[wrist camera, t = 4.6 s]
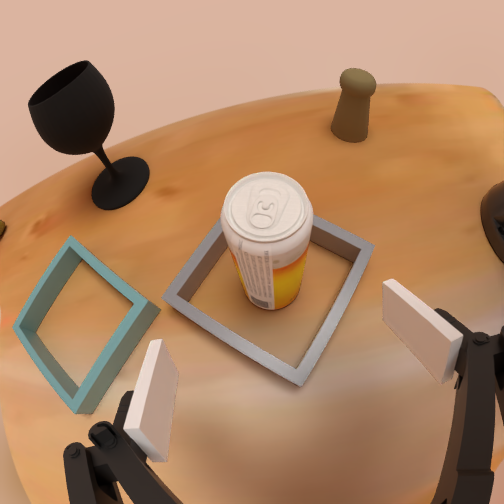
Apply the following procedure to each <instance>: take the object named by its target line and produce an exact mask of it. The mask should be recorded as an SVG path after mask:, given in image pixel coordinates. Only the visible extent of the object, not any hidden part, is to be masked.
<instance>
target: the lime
mask: <svg viewBox="0 0 504 504" xmlns="http://www.w3.org/2000/svg"><path fill="white" fill-rule="evenodd" d="M4 229H5V222H3V221H2V220H0V235H1V234H2V233H3V231H4Z"/></svg>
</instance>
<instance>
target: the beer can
mask: <svg viewBox="0 0 504 504" xmlns="http://www.w3.org/2000/svg"><path fill="white" fill-rule="evenodd" d="M312 224H313V209H312V205H311V203H310V201H309V199H308V197H307V195H306V193H305V191H304V189H303V188H302V187H301V186H300V184H299V183H297V182H296V181H295V180H294V179H292V178H290V177H288V176H286V175H283V174H280V173H276V172H259V173H254V174H251V175H248V176H246V177H244V178H242V179H241V180H239V181H238V182H237V183H235V184H234V185H233V186H232V187H231V189H230V190H229V192H228V193H227V195H226V198H225V201H224V204H223V207H222V210H221V226H222V229H223V232H224V235H225V238H226V241H227V243H228V246H229V249H230V252H231V255H232V258H233V260H234V263H235V266H236V269H237V272H238V274H239V277H240V280H241V283H242V286H243V288H244V291H245V293H246V295H247V297H248V298H249V300H250V301H251V302H252V303H254V304H255V305H256V306H258V307H261V308H264V309H270V310H273V309H279V308H283V307H285V306H287V305H288V304H290V303H291V302H292V301H293V300H294V299H295V298H296V296H297V294H298V292H299V290H300V285H301V281H302V276H303V271H304V266H305V261H306V256H307V251H308V246H309V241H310V235H311V230H312Z"/></svg>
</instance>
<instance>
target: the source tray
mask: <svg viewBox="0 0 504 504" xmlns="http://www.w3.org/2000/svg"><path fill="white" fill-rule="evenodd" d="M310 241H312V242H314V243H316V244H318V245H320V246H322V247H324V248H326V249H328V250H330V251H332V252H334V253H336V254H338V255H340V256H342V257H343V258H345V259H347V260H349V261H351V262H353V265H352V267H351V269H350V271H349V273H348V275H347V277H346V279H345V281H344V283H343V285H342V287H341V289H340V291H339V293H338V295H337V297H336V299H335V301H334V303H333V305H332V307H331V308H330V310H329V312H328V314H327V316H326V318H325V319H324V321H323V323H322V325H321V327H320V328H319V330H318V332H317V334H316V336H315V337H314V339H313V341H312V343H311V344H310V346H309V348H308V349H307V351H306V353H305V354H304V356H303V358H302V359H301V361H300V363H299V364H298V366H297V368H296V369H295V368H293V367H292V366H290V365H288V364H286V363H285V362H283V361H281V360H279V359H278V358H276V357H274V356H272V355H271V354H269V353H267V352H266V351H264V350H262V349H261V348H259V347H257V346H255V345H254V344H252V343H251V342H249V341H247V340H246V339H244V338H242V337H241V336H239V335H237V334H236V333H234V332H233V331H231V330H229V329H228V328H226V327H225V326H223V325H222V324H220V323H218V322H217V321H215V320H214V319H212V318H211V317H209V316H208V315H206V314H205V313H203V312H202V311H200V310H198V309H197V308H195V307H194V306H192V305H191V304H190V303H188V301H189V300H190V299H191V297H192V296H193V294H194V293H195V291H196V290H197V289H198V287H199V286H200V284H201V283H202V282H203V280H204V279H205V277H206V276H207V274H208V273H209V272H210V270H211V269H212V267H213V266H214V265H215V263H216V262H217V260H218V259H219V258H220V256H221V255H222V253H223V252H224V251H225V249H226V248H227V246H228V243H227V241H226V238H225V235H224V232H223V229H222V226H221V217H220V219H219V220H218V221H217V223H216V224H215V225H214V226H213V228H212V229H211V230H210V232H209V233H208V234H207V236H206V237H205V238H204V240H203V241H202V242H201V244H200V245H199V246H198V248H197V249H196V250H195V252H194V253H193V254H192V256H191V257H190V258H189V260H188V261H187V262H186V264H185V265H184V267H183V268H182V269H181V271H180V272H179V273H178V275H177V276H176V278H175V279H174V280H173V282H172V283H171V285H170V286H169V287H168V289H167V290H166V292H165V293H164V294H163V296H162V297H161V298H162V299H163V300H164V301H165V302H167V303H168V304H169V305H170V306H172V307H173V308H174V309H176V310H177V311H179V312H180V313H182V314H183V315H184V316H186V317H187V318H189V319H190V320H192V321H193V322H195V323H196V324H197V325H199V326H200V327H202V328H203V329H205V330H206V331H208V332H209V333H211V334H212V335H214V336H215V337H217V338H219V339H220V340H222V341H223V342H225V343H226V344H228V345H229V346H231V347H233V348H234V349H236V350H237V351H239V352H241V353H242V354H244V355H245V356H247V357H249V358H250V359H252V360H254V361H255V362H257V363H259V364H260V365H262V366H264V367H265V368H267V369H269V370H271V371H272V372H274V373H276V374H277V375H279V376H281V377H283V378H284V379H286V380H288V381H290V382H292V383H293V384H295V385H297V386H299V387H302V385H303V384H304V382H305V380H306V379H307V377H308V376H309V374H310V372H311V371H312V369H313V367H314V366H315V364H316V362H317V360H318V359H319V357H320V355H321V353H322V352H323V350H324V348H325V346H326V345H327V343H328V341H329V339H330V337H331V336H332V334H333V332H334V330H335V328H336V326H337V324H338V323H339V321H340V319H341V317H342V315H343V313H344V311H345V309H346V307H347V305H348V303H349V301H350V299H351V297H352V295H353V293H354V291H355V289H356V287H357V285H358V283H359V280H360V278H361V276H362V274H363V272H364V270H365V267H366V265H367V263H368V261H369V259H370V256H371V254H372V252H373V249H374V247H375V245H373V244H371V243H370V242H368V241H366V240H364V239H362V238H360V237H358V236H356V235H354V234H352V233H350V232H348V231H346V230H344V229H342V228H340V227H338V226H336V225H334V224H332V223H330V222H328V221H326V220H324V219H322V218H320V217H318V216H316V215H314V214H313V224H312V230H311V235H310Z"/></svg>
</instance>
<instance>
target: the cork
mask: <svg viewBox="0 0 504 504" xmlns="http://www.w3.org/2000/svg"><path fill="white" fill-rule="evenodd" d="M340 86H341V88H342V93H341V96H340V99H339V102H338V106H337V109H336V112H335V115H334V118H333V121H332V125H331V131H332V132H333V134H334V135H335V136H337V137H338V138H340V139H341V140H344V141H347V142H353V143H356V142H361V141H363V140H365V139H366V138H367V134H368V122H369V108H370V96H372V95H373V94H374V92H375V89H376V81H375V79H374V77H373V76H372V75H371V74H370V73H368V72H367V71H364V70H361V69H356V68H350V69H347V70H345V71H344V72H343V73H342V74H341V77H340Z"/></svg>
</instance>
